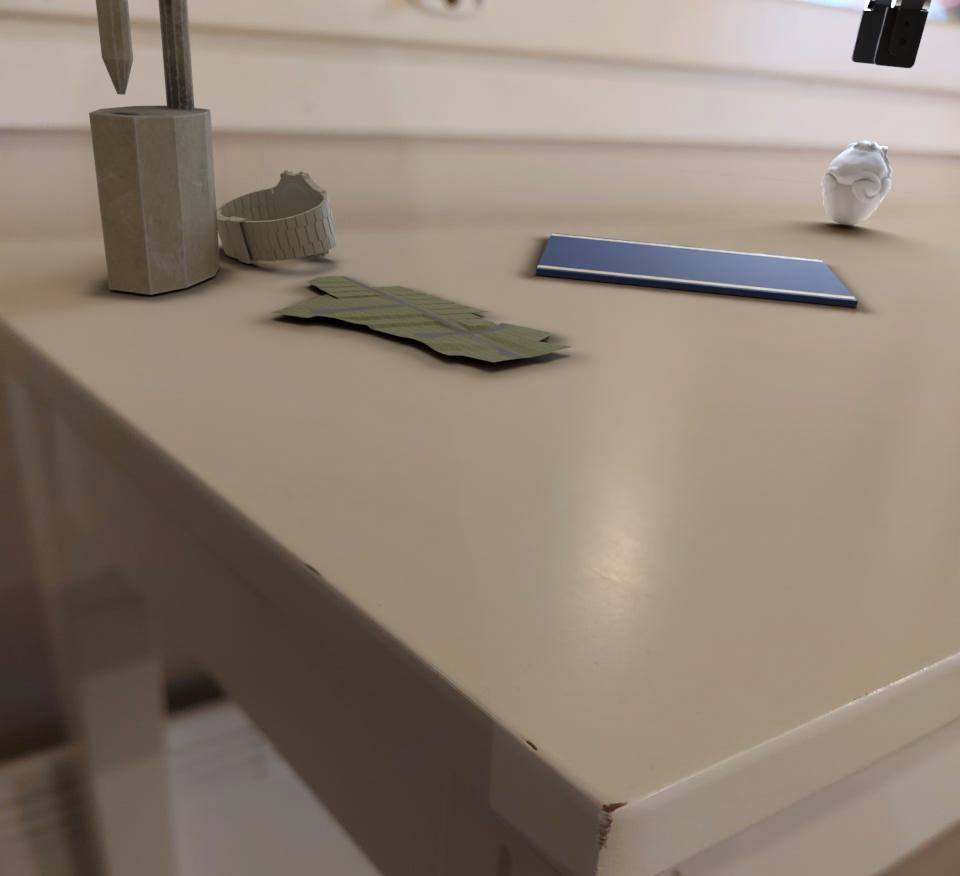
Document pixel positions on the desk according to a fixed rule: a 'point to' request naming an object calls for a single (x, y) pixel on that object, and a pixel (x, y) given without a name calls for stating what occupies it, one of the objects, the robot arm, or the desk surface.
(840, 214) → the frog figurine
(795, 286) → the blue flat panel
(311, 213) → the wristwatch
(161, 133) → the pencil holder
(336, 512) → the desk surface
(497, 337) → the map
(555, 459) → the desk surface
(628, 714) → the desk surface
